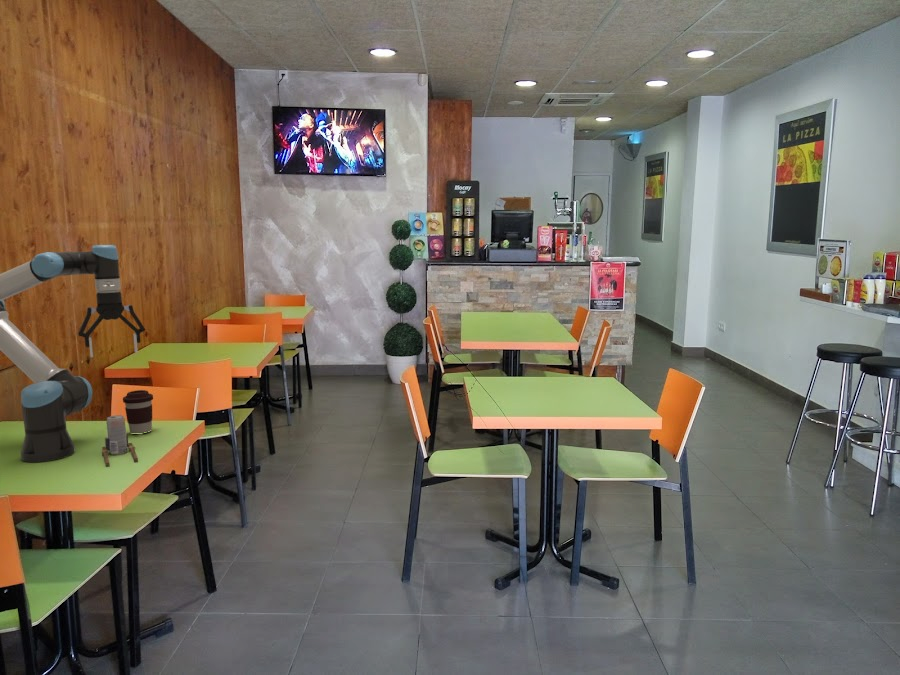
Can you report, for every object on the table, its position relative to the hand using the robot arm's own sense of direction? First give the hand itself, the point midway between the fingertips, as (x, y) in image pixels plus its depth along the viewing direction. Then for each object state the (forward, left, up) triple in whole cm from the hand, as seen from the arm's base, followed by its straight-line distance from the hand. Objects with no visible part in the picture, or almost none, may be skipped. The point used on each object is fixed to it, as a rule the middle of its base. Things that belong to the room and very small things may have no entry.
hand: (114, 354), depth 235 cm
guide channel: (-2, -16, -31) cm, 35 cm away
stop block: (-2, -6, -31) cm, 31 cm away
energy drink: (-2, -12, -31) cm, 33 cm away
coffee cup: (+7, +11, -31) cm, 34 cm away
